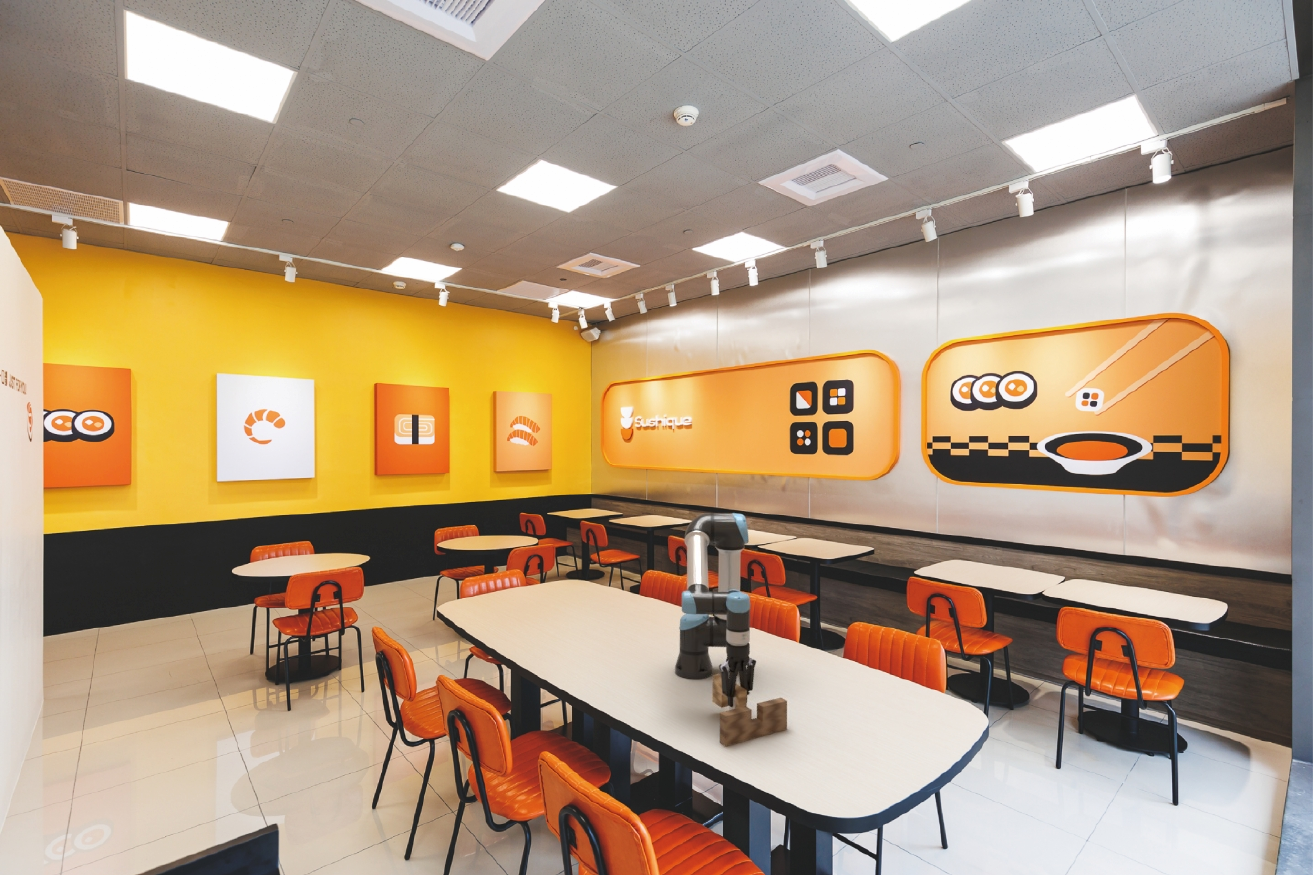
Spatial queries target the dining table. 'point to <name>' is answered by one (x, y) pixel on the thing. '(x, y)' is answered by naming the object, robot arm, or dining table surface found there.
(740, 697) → the oak plate
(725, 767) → the dining table surface
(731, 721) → the walnut board
